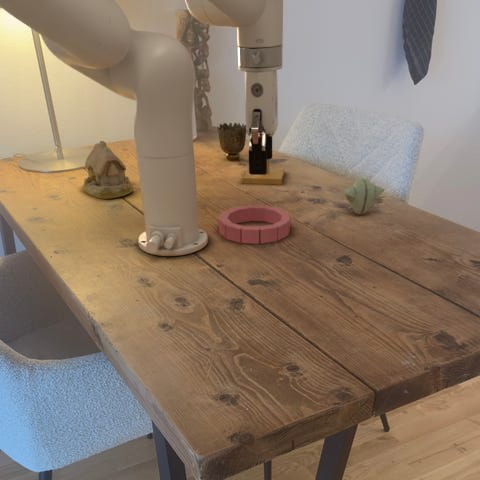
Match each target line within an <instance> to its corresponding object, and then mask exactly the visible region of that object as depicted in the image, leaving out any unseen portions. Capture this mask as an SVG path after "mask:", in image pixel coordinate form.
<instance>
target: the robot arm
mask: <svg viewBox="0 0 480 480" xmlns="http://www.w3.org/2000/svg"><path fill="white" fill-rule="evenodd" d="M184 1H185V4H186V8H187V10H188V11H189V13H190V15H191V16H192V17H193V18H194V19H195V20H196V21H198V22H199V23H201V24H204V25H208V26H215V27H231V28H236V39H237V40H236V41H237V43H236V44H237V69H238V71H241V72H244V111H245V113H244V114H245V124H246V135H247V136H249V141H248V142H249V143H248V167H249V174H251V175H265V174H266V173H267V159H269V160H272V158H273V136H274V135H275V133H276V131H277V129H278V127H279V126H278V125H279V107H278V105H279V103H278V101H279V99H278V95H279V93H278V91H279V90H278V70H282V69H283V53H284V52H283V48H284V47H283V46H284V45H283V44H284V43H283V42H284V41H283V38H284V0H184ZM0 8H1V9H3V10H4V11H5V12H7V13H8V14H9V15H11V16H12V17H14V18H15V19H16V20H18V21H19V22H21V23H23V24H24V25H26V27H29V28H30V29H31V30H33V31H34V32H36V33H37V34H38V35H40V36H41V39H42V41H43V43H44V44H45V47H46V48H47V49H48V50H49V52H50V53H51V54H52V55H53V56H54V57H56V58H57V59H58V60H59V61H60V62H62V63H63V64H64V65H66V66H68V67H70V68H71V69H72V70H75V71H76V72H78V73H80V74H82V75H84V76H85V77H87V78H89V79H90V80H91V81H93V82H95V83H97V84H99V85H100V86H102V87H104V88H106V89H108V90H109V91H111V92H113V93H114V94H116V95H118V96H120V97H122V98H126V99H128V100H130V101H131V100H132V101H135V113H134V114H135V115H134V122H133V139H134V149H135V154H136V162H137V170H138V178H139V179H138V180H139V187H140V194H141V205H142V211H143V212H142V213H143V220H144V228H145V229H144V230H145V231H144V232H142V233H141V234H140V235H139V236H138V239H137V242H138V247H139V249H141V251H143V252H145V253H147V254H150V255H155V256H159V257H161V256H162V257H177V256H185V255H190V254H193V253H196V252H197V251H198V252H199V251H200V250H202V249H203V248H205V247H206V246H207V244H208V242H209V241H208V240H209V236H208V234H207V231H205V230H204V229H201V228H199V227H200V226H199V211H198V198H197V197H198V196H197V181H196V180H197V179H196V164H195V150H194V133H193V132H194V131H193V109H194V99H195V89H196V70H195V65H194V61H193V59H192V56H191V54H190V52H189V50H188V48H187V47H186V46H184V44H183V43H182V42H181V41H179V40H178V39H177V38H175V37H173V36H171V35H170V34H169V35H168V34H166V33H161V32H155V31H146V30H145V31H144V30H136V29H133V28H132V27H131V25H130V22H129V20H128V17H127V15H126V13H125V12H124V10H123V9H122V7H121V6H120V5H119V4H118V3H117V2H116V0H0Z"/></svg>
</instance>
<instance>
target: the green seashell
mask: <svg viewBox="0 0 480 480" xmlns="http://www.w3.org/2000/svg"><path fill="white" fill-rule="evenodd" d="M384 191H385V190H384V188H382V187H381V186H380V185H376V184H375V183H372V182H371V181H370V180H369V179H367V178H364V177H363V178H362V177H361V178H359V179H357V180H356V181H355V182H354V183H353V185H351V187H348V188H346V189H344V196H345V198H346V199H347V201H348V202H349V203H350V206H351V208H352V210H353V212H354V213H355V214H357V215H359V216H361V215H364V214H366V213H367V211H368V210H369V209H370V208H371V206H372V204H373V202H374V201H375V200H376V199H377V198H378V197H379V196H380V195H381V194H382V193H383V192H384Z"/></svg>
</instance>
